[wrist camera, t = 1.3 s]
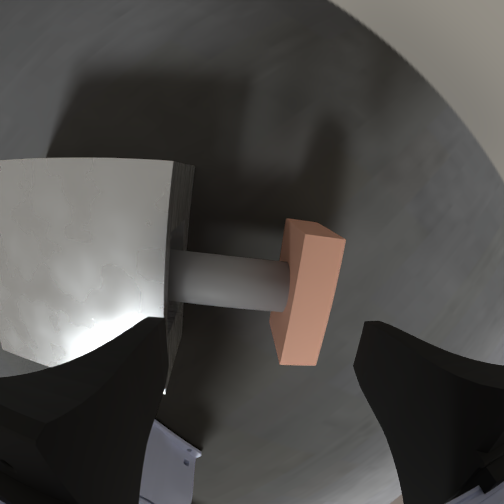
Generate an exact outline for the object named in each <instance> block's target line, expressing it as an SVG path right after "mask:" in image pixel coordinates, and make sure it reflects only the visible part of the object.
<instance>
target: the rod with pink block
mask: <svg viewBox="0 0 504 504" xmlns="http://www.w3.org/2000/svg"><path fill="white" fill-rule="evenodd" d="M345 242H346V239H344V238H342V237H341V236H339V235H337V234H336V233H334V232H332V231H331V230H329V229H327V228H326V227H324V226H322V225H321V224H319V223H317V222H311V221H303V220H296V219H289V218H286V221H285V228H284V235H283V241H282V248H281V254H280V260H279V261H273V260H264V259H255V258H246V257H236V256H227V255H218V254H209V253H200V252H191V251H182V250H173V249H170V257H169V278H168V300H169V301H177V302H185V303H193V304H202V305H211V306H220V307H230V308H240V309H251V310H262V311H271V314H270V320H269V322H270V326H271V331H272V335H273V339H274V343H275V347H276V351H277V355H278V359H279V363H280V365H311V366H316V362H317V359H318V355H319V352H320V348H321V345H322V341H323V337H324V334H325V330H326V326H327V322H328V318H329V314H330V310H331V306H332V302H333V298H334V294H335V289H336V285H337V280H338V276H339V271H340V267H341V262H342V257H343V252H344V247H345Z"/></svg>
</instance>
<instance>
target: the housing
mask: <svg viewBox="0 0 504 504" xmlns="http://www.w3.org/2000/svg"><path fill="white" fill-rule="evenodd" d="M194 171H195V166H192V165H188V164H184V163H180V162H175V161H166V160H149V159H128V158H34V159H15V160H1V161H0V341H1V345H2V348H3V350H6V351H8V352H11V353H13V354H16V355H18V356H21V357H24V358H26V359H29V360H32V361H35V362H37V363H40V364H43V365H46V366H49V367H54V366H57V365H60V364H63V363H66V362H68V361H71V360H73V359H75V358H78V357H80V356H82V355H84V354H87V353H89V352H91V351H93V350H94V349H96V348H98V347H100V346H101V345H103V344H105V343H107V342H108V341H110V340H112V339H114V338H115V337H117V336H118V335H120V334H121V333H123V332H124V331H126V330H128V329H129V328H131V327H132V326H134V325H135V324H137V323H138V322H140V321H141V320H143V319H144V318H146V317H148V316H150V317H162V318H165V323H166V336H167V348H168V359H169V369H168V374H167V380H166V385H165V389H164V392H163V394H165V393H166V390H167V386H168V382H169V379H170V375H171V371H172V368H173V364H174V361H175V357H176V353H177V350H178V347H179V343H180V340H181V336H182V331H183V305H184V302H177V301H169V300H168V278H169V257H170V249H173V250H182V251H187V241H188V229H189V218H190V208H191V198H192V188H193V180H194Z"/></svg>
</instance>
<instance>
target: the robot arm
mask: <svg viewBox="0 0 504 504" xmlns="http://www.w3.org/2000/svg"><path fill="white" fill-rule="evenodd" d="M353 367H354V370H355V373H356V376H357V379H358V382H359V385H360V387H361V389H362V391H363V393H364V395H365V397H366V399H367V401H368V403H369V404H370V406H371V408H372V410H373V412H374V414H375V416H376V418H377V420H378V421H379V423H380V425H381V427H382V429H383V431H384V434H385V436H386V438H387V441H388V444H389V447H390V450H391V453H392V456H393V459H394V462H395V466H396V469H397V473H398V477H399V481H400V486H401V491H402V496H403V502H404V504H504V366H502V365H496V364H490V363H485V362H481V361H476V360H473V359H469V358H466V357H463V356H459V355H456V354H453V353H451V352H448V351H445V350H443V349H441V348H438V347H436V346H434V345H431V344H429V343H427V342H425V341H423V340H421V339H418V338H416V337H414V336H412V335H410V334H408V333H406V332H404V331H402V330H400V329H398V328H396V327H393V326H391V325H389V324H386V323H384V322H381V321H365V322H364V327H363V331H362V335H361V339H360V343H359V346H358V350H357V354H356V358H355V361H354V365H353ZM168 369H169V359H168V348H167V336H166V323H165V318H162V317H150V316H148V317H146V318H144V319H143V320H141V321H140V322H138V323H137V324H135V325H134V326H132V327H131V328H129V329H128V330H126V331H124V332H123V333H121V334H120V335H118V336H117V337H115V338H114V339H112V340H110V341H108V342H107V343H105V344H103V345H101V346H100V347H98V348H96V349H94V350H93V351H91V352H89V353H87V354H84V355H82V356H80V357H78V358H75V359H73V360H71V361H68V362H66V363H63V364H60V365H57V366H54V367H50V368H47V369H44V370H41V371H37V372H32V373H28V374H23V375H17V376H11V377H2V378H0V504H191V502H192V495H193V482H194V471H195V460H196V458H197V457H200V456H201V451H200V450H198V449H197V448H195V447H193V446H192V445H190V444H189V443H187V442H186V441H185V440H183V439H182V438H180V437H179V436H177V435H176V434H174V433H173V432H172V431H170V430H169V429H168V428H166V427H165V426H163V425H162V424H161V423H159V422H158V421H157V420H155V416H156V413H157V410H158V407H159V404H160V401H161V398H162V395H163V392H164V389H165V385H166V380H167V374H168Z"/></svg>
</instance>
